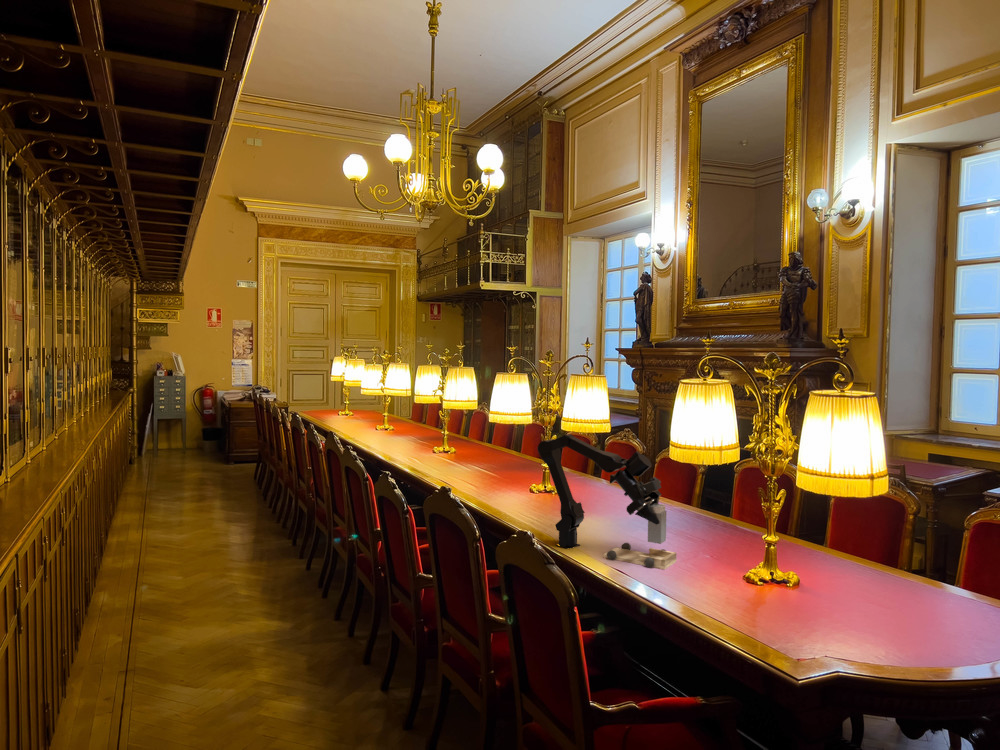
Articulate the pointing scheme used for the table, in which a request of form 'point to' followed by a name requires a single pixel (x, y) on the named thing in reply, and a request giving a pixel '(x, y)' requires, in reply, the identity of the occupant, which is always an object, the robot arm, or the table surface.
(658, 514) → the grey rectangular block
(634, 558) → the chassis
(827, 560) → the table surface
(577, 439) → the robot arm
